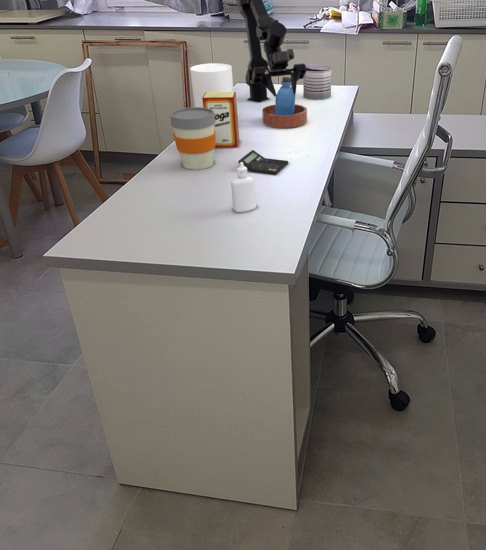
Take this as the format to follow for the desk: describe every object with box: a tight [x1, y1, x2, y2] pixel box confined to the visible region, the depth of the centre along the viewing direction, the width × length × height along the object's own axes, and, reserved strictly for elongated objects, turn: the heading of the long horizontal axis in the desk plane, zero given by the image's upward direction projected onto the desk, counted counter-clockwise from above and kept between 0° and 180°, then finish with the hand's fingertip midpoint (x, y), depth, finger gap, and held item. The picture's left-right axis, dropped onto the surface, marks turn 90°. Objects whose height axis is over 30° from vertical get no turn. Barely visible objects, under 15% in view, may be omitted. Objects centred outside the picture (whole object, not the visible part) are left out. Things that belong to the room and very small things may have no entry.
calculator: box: [237, 149, 289, 176], centre depth 164 cm, size 9×12×3 cm
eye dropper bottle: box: [230, 162, 257, 213], centre depth 137 cm, size 4×6×12 cm
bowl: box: [261, 103, 308, 129], centre depth 201 cm, size 16×16×4 cm
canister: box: [189, 62, 234, 108], centre depth 193 cm, size 14×14×20 cm
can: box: [302, 63, 332, 101], centre depth 229 cm, size 11×11×12 cm
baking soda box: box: [202, 91, 240, 149], centre depth 179 cm, size 10×6×16 cm
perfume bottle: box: [274, 76, 297, 115], centre depth 198 cm, size 6×6×12 cm
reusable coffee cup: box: [170, 106, 216, 170], centre depth 164 cm, size 13×13×15 cm
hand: (285, 95), depth 196 cm, fingers closed on perfume bottle, 7 cm apart
